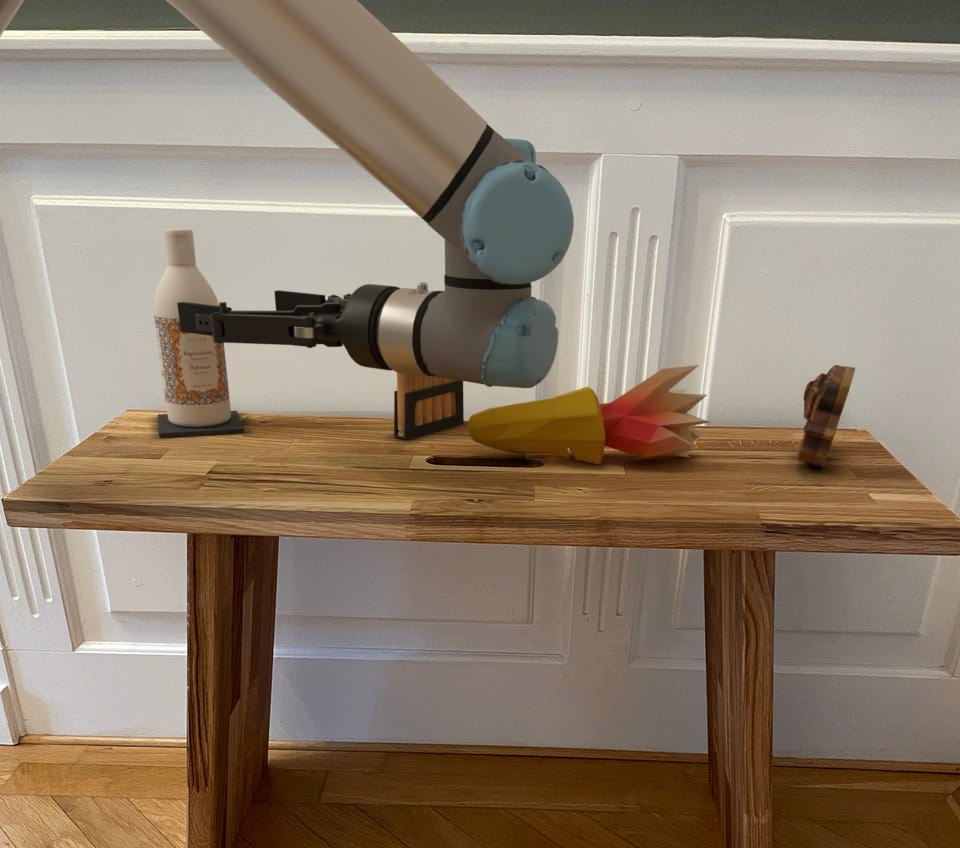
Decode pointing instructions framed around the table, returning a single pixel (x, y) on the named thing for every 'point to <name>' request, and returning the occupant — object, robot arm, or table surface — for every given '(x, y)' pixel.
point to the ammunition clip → (426, 405)
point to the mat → (176, 431)
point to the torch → (597, 422)
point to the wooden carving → (823, 412)
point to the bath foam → (188, 341)
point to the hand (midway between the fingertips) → (232, 309)
